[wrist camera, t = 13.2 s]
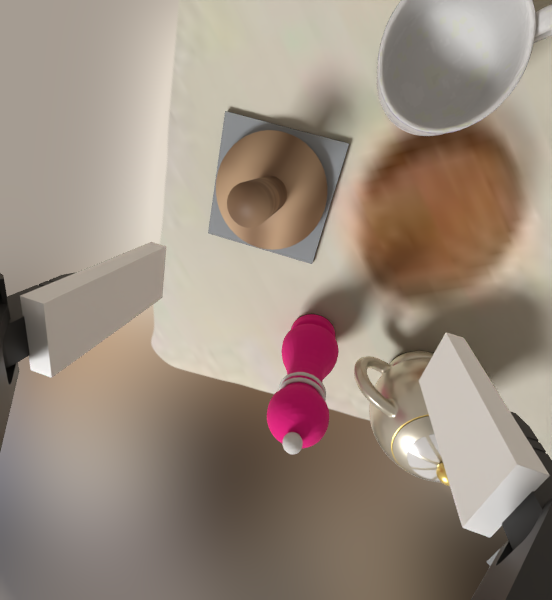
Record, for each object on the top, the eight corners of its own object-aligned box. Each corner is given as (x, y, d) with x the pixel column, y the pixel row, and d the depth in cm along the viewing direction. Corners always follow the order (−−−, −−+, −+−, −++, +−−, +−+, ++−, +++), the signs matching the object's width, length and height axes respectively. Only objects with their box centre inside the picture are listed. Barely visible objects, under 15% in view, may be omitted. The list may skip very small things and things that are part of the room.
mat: (348, 144, 34) (349, 143, 34) (312, 262, 41) (312, 264, 40) (227, 111, 35) (225, 111, 35) (209, 232, 42) (208, 233, 41)
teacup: (370, 144, 34) (376, 141, 27) (371, 16, 30) (379, -28, 23) (519, 126, 31) (571, 117, 24) (544, -20, 27) (617, -83, 20)
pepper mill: (345, 318, 43) (344, 434, 25) (331, 360, 46) (322, 490, 28) (293, 304, 44) (256, 408, 26) (283, 347, 47) (245, 466, 29)
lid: (343, 149, 34) (342, 147, 25) (308, 259, 40) (297, 290, 31) (229, 116, 35) (189, 103, 26) (211, 230, 41) (173, 251, 32)
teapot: (499, 371, 42) (581, 488, 27) (426, 429, 48) (460, 550, 33) (385, 298, 41) (407, 379, 26) (325, 367, 47) (316, 464, 32)
